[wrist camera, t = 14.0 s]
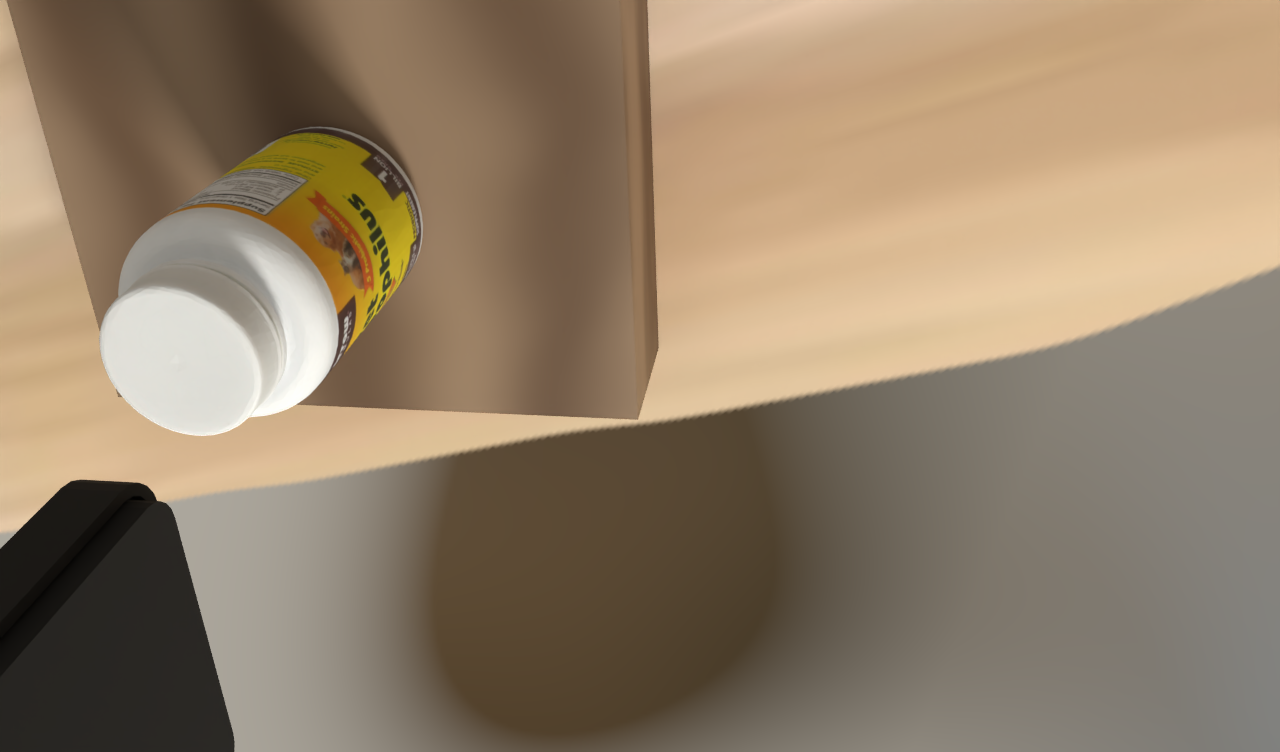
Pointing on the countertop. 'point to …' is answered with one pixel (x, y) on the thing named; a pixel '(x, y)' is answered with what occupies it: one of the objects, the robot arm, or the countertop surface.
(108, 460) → the countertop surface
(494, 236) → the walnut riser
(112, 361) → the supplement bottle
